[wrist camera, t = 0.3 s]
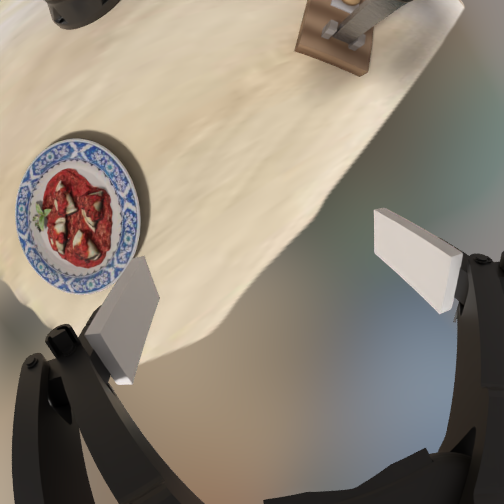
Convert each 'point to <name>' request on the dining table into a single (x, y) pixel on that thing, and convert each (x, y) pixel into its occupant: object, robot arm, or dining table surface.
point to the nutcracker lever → (366, 18)
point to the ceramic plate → (78, 216)
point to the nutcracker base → (322, 29)
